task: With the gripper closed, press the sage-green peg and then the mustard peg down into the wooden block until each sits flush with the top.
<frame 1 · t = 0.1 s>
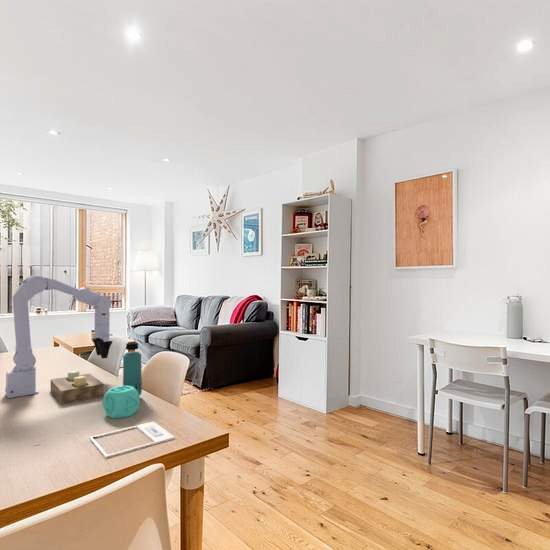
hand: (102, 356, 164), 10 cm above the table, tool pointing down, fingers open, 7 cm apart
mustard peg: (80, 383, 143), point 5 cm above the table, slide at 0.0 cm
wooden block: (76, 393, 147), on the table
decorative dice: (121, 414, 126), on the table
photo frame: (132, 441, 107), on the table
beverage bottle: (132, 399, 141), on the table
sage peg: (73, 377, 151), point 5 cm above the table, slide at 0.0 cm
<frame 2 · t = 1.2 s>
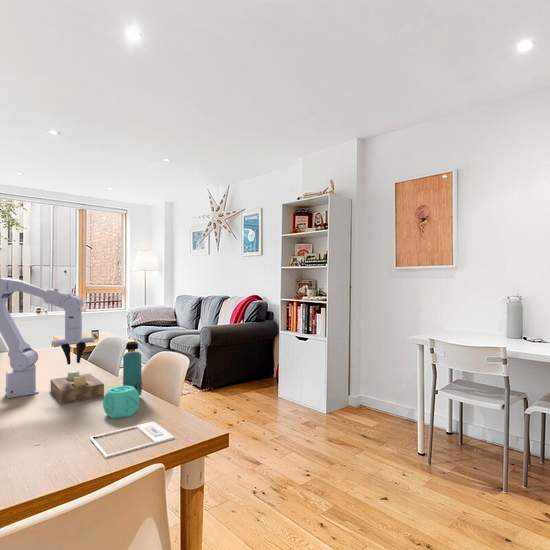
hand: (73, 363, 151), 10 cm above the table, tool pointing down, fingers open, 3 cm apart
nothing on the table moved.
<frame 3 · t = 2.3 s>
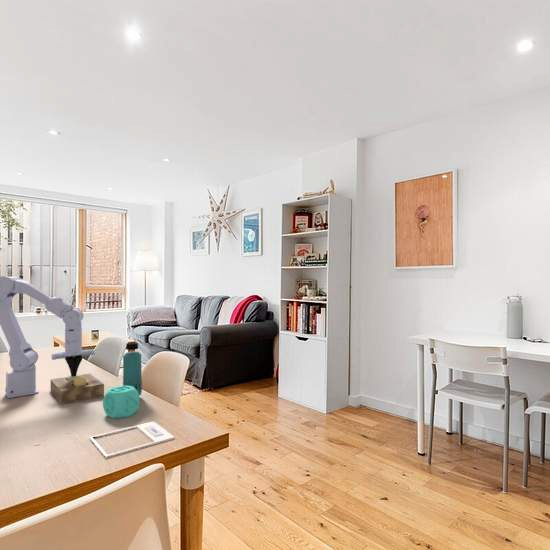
hand: (73, 375, 151), 6 cm above the table, tool pointing down, fingers closed, pressing on sage peg
sage peg: (73, 381, 151), point 4 cm above the table, slide at 1.4 cm, touching gripper
everything else where it was.
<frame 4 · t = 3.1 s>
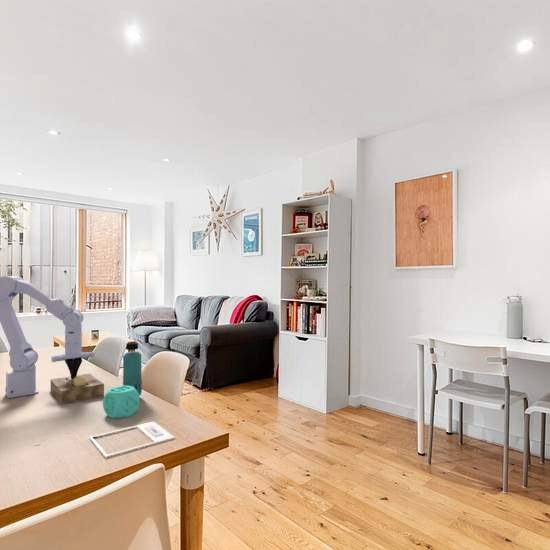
hand: (73, 378, 151), 5 cm above the table, tool pointing down, fingers closed
sage peg: (73, 383, 151), point 3 cm above the table, slide at 2.3 cm
everything else where it was.
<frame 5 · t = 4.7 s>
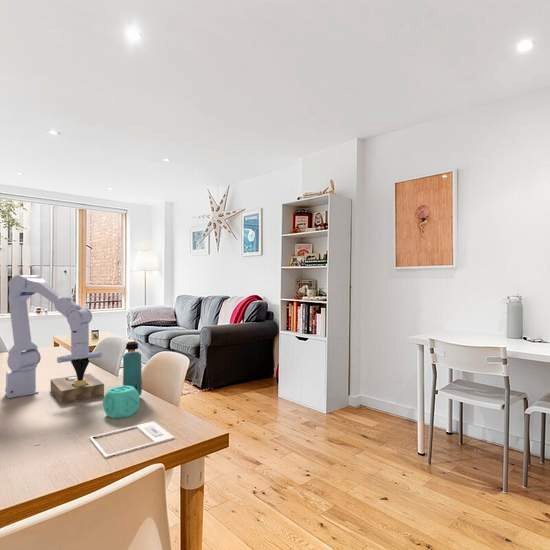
hand: (80, 379, 143), 6 cm above the table, tool pointing down, fingers closed, pressing on mustard peg
mustard peg: (80, 385, 143), point 4 cm above the table, slide at 0.8 cm, touching gripper
everything else where it was.
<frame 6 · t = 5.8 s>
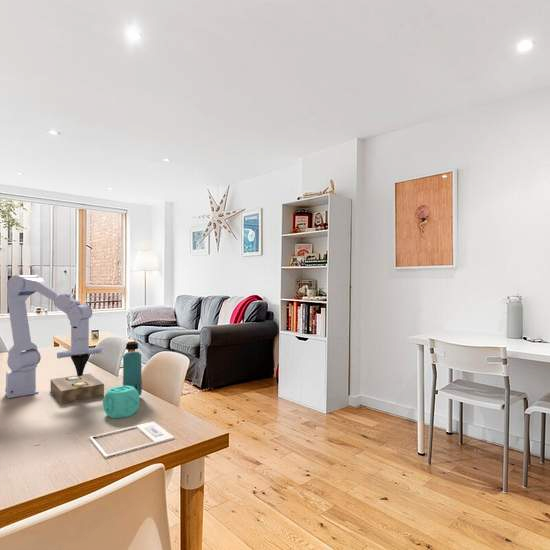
hand: (79, 375, 143), 8 cm above the table, tool pointing down, fingers closed
mustard peg: (80, 389, 143), point 3 cm above the table, slide at 2.3 cm
everything else where it was.
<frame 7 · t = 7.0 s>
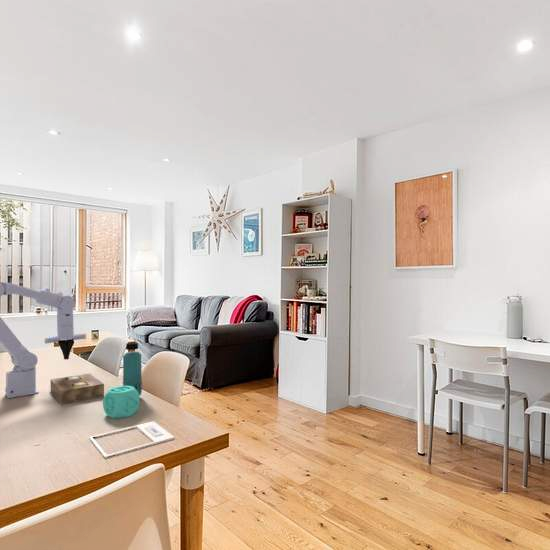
hand: (66, 359, 158), 10 cm above the table, tool pointing down, fingers closed
nothing on the table moved.
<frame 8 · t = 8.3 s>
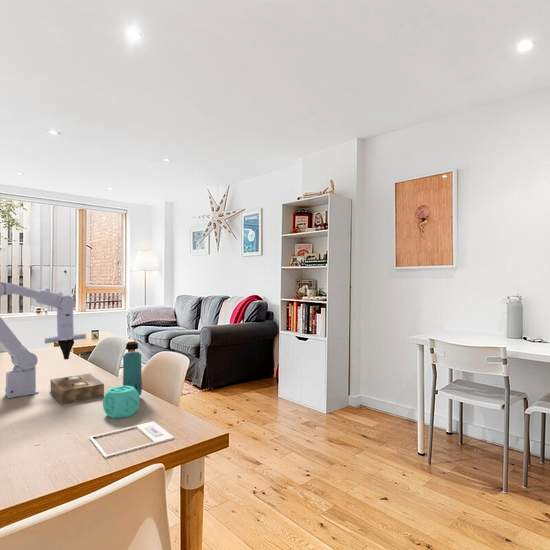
hand: (66, 359, 158), 10 cm above the table, tool pointing down, fingers closed
nothing on the table moved.
at the end: sage peg slide at 2.3 cm; mustard peg slide at 2.3 cm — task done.
